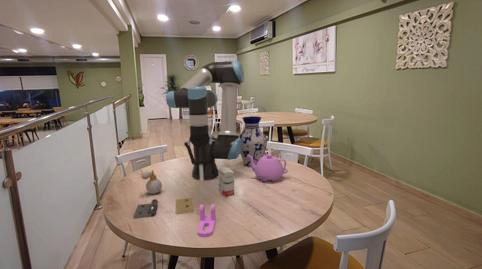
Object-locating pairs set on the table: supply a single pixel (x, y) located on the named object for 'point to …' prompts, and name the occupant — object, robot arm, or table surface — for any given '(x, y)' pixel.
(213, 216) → the bracket
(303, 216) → the table surface
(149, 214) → the steel leaf
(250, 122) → the vase
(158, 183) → the perfume bottle
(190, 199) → the plate
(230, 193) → the ink box
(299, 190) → the table surface
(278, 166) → the teapot
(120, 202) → the table surface
